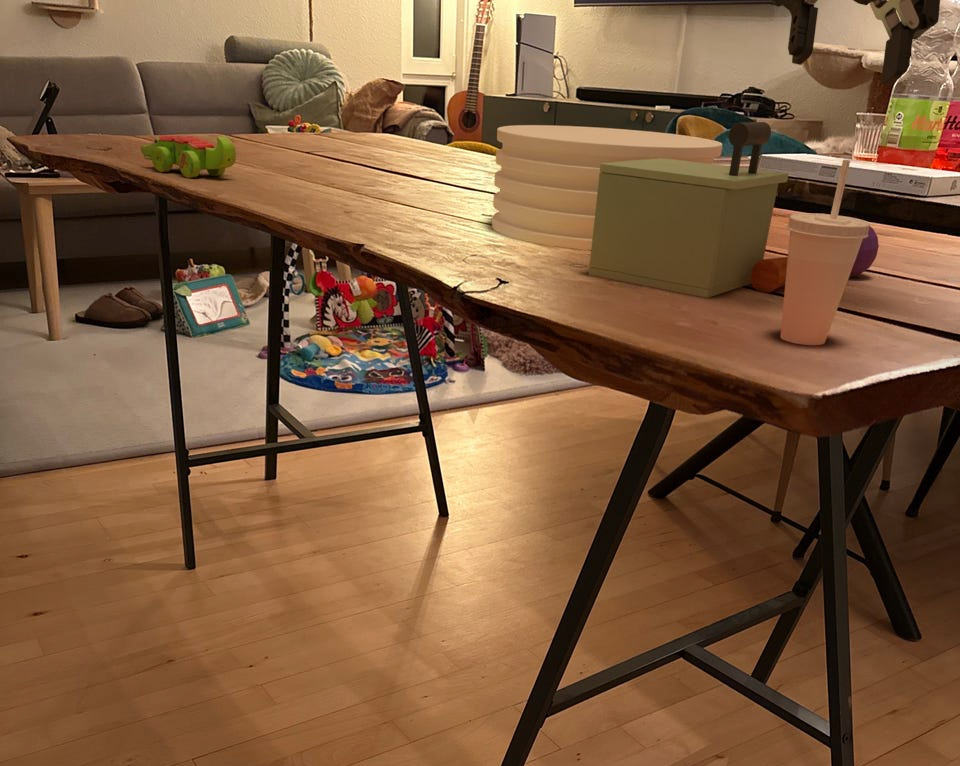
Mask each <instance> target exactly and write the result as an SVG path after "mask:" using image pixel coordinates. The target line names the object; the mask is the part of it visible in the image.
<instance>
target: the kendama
mask: <svg viewBox="0 0 960 766" xmlns="http://www.w3.org/2000/svg"><path fill="white" fill-rule="evenodd" d="M874 229H875V228H873V227H872V226H870V227H869V231H868V237H866V238H863V240H862V243H861V245H860V248H859V251H858V254H857V257H856V260H855V262H854V265H853V267H852V270H851V273H850V276H849V278H853V277H855V276H859V275H862V274H863V273H865V272H866V271H867V270H868V269H870V267H871V266H872V264H873V263H874V262H875V260H876V258H877V255H878V251H879V247H880V244H879V237H878V235H877V233H876V231H875V230H874ZM787 260H788V256H783V257H782V256H781V257H773V258H772V257H771V258H764V259H763V260H760V261H758V262H757V263H756V264H755V265H754V267H753V269H752V271H751V282H752V284H751V285H752V286H753V288H754V289H755V290H756V291H758V292H762V293H767V294H768V293H772V292H774V291H775V290H777V289H779V288H781V287H782V286H785V282H786V271H787Z"/></svg>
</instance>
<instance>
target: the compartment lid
mask: <svg viewBox="0 0 960 766" xmlns="http://www.w3.org/2000/svg"><path fill="white" fill-rule="evenodd" d="M771 136H772V128H771V126H770V124H769V123H767V122H765V121H751V122H750V121H749V122H737V123H734V124H733V125H732V126H731V127H730V129H729V131H728V141H729V143H730V144H731V145H732V146H733V149H732V155H731V161H730V165H722V164H716V165H715V163H713V164H706V163H698V162H690V161H681V160H673V159H665V158H656V159H645V160H633V161H622V162H610V163H601V164H600V172H603V173H611V174H619V175H626V176H634V177H641V178H649V179H656V180H664V181H671V182H679V183H686V184H694V185H701V186H709V187H716V188H724V189H731V190H737V189H743V188H750V187H756V186H763V185H770V184H776V183H778V184H781V183H787V182H788V179H789V175H790V173H788V172H781V171H773V170H764V169H758V168H759V162H760V159H761V152H762V147H763V145H764V144H766V143H767V142H768V141H769V140H770V139H771ZM750 146H751V154H750V159H749V166H748V168H747V167H741V166H740V165H741V160H742V155H743V148H744V147H750Z"/></svg>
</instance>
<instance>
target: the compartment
mask: <svg viewBox="0 0 960 766" xmlns="http://www.w3.org/2000/svg"><path fill="white" fill-rule="evenodd" d="M778 187H779V183H776V184H770V185H763V186H756V187H750V188H743V189H737V190H731V189H724V188H716V187H709V186H701V185H694V184H686V183H679V182H671V181H664V180H656V179H649V178H641V177H634V176H626V175H619V174H611V173H603V172H602V173H600V174H599V183H598V192H597V201H596V210H595V220H594V229H593V238H592V248H591V250H590V257H589V258H590V259H589V268H588V275H589V276H594V277H599V278H604V279H607V280H614V281H620V282H624V283H628V284H635V285H639V286H640V285H641V286H645V287H650V288H656V289H660V290H665V291H669V292H676V293H681V294H686V295H690V296H696V297H701V298H707V299H708V298H711V297H714V296H718V295H720V294H724V293H727V292H729V291H732V290H735V289H739V288H742V287H744V286H748V285H753V284H752V282H751V271H752V269H753V267H754V265H755V264H756V263H757V262H758V261H760V260H764V259H765V253H766V248H767V242H768V238H769V233H770V228H771V223H772V217H773V212H774V207H775V202H776V198H777V192H778Z"/></svg>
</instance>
